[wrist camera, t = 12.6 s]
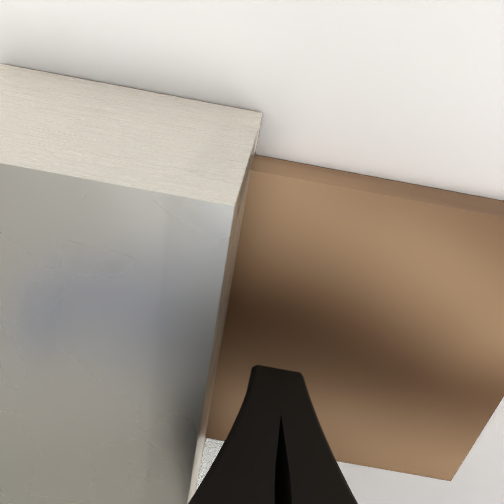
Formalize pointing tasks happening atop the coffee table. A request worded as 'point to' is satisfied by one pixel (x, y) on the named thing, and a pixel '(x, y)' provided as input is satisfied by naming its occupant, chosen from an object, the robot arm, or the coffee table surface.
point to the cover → (112, 284)
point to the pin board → (369, 312)
